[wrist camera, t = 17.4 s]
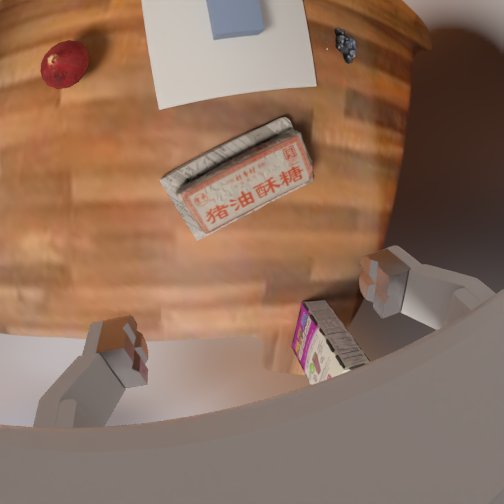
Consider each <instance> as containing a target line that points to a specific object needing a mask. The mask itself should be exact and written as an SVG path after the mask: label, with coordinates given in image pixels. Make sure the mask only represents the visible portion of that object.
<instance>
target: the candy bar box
mask: <svg viewBox="0 0 504 504" xmlns="http://www.w3.org/2000/svg"><path fill="white" fill-rule="evenodd" d="M292 348H293V350H294V352H295V354H296V356H297V359H298V360H299V362H300V364H301V366H302V368H303V370H304V373H305V375H306V376H307V378H308V380H309V382H310V384H311V385H313V384H316V383H318V382H321V381H324V380H327V379H330V378H332V377H335V376H338V375H340V374H343V373H346V372H348V371H351V370H353V369H356V368H358V367H360V366H363V365H365V364H368V363H370V361H369V359H368V358H367V356H366V355H365V354H364V352H363V351H362V349H361V348H360V347H359V346H358V344H357V343H356V341H355V340H354V338H353V337H352V336H351V334H350V333H349V332H348V330H347V329H346V328H345V326H344V324H343V323H342V322H341V321H340V319H339V318H338V316H337V315H336V314H335V312H334V311H333V309H332V308H331V307H330V305H329V304H328V303H327V301H326V300H317V301H306V302H302V304H301V308H300V313H299V318H298V322H297V327H296V331H295V335H294V339H293V343H292Z"/></svg>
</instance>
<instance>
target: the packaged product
mask: <svg viewBox="0 0 504 504" xmlns="http://www.w3.org/2000/svg"><path fill="white" fill-rule="evenodd" d="M312 162H313V161H312V159H311V157H310V155H309V153H308V151H307V149H306V146H305V144H304V142H303V139H302V134H301V133H300V132H298V131H295V130H294V128H293V126H292V124H291V121H290V120H289V119H288V118H286V117H283V118H279V119H277V120H275V121H273V122H271V123H269V124H267V125H265V126H263V127H260V128H257V129H255V130H252V131H250V132H248V133H245V134H243V135H241V136H239V137H237V138H234V139H232V140H230V141H228V142H226V143H224V144H222V145H219V146H217V147H215V148H213V149H211V150H209V151H207V152H206V153H204V154H202V155H200V156H198V157H196V158H194V159H192V160H191V161H189V162H187V163H185V164H183V165H182V166H180V167H178V168H176V169H175V170H173V171H171V172H170V173H169V174H167V175H166V176H165V177H163V178H162V179H161V180H160V182H161V184H162V185H163V187H164V189H165V190H166V192H167V193H168V195H169V197H170V198H171V200H172V202H173V203H174V205H175V207H176V208H177V210H178V212H179V213H180V215H181V216H182V218H183V219H184V221H185V223H186V224H187V226H188V227H189V229H190V230H191V232H192V233H193V235H194V236H195V238H196V240H197V241H199V240H200V239H202V238H204V237H206V236H208V235H210V234H212V233H214V232H216V231H217V230H219V229H220V228H222V227H224V226H226V225H228V224H230V223H232V222H234V221H236V220H238V219H240V218H242V217H244V216H246V215H248V214H249V213H251V212H253V211H256V210H257V209H259V208H261V207H263V206H264V205H265V204H267V203H271V202H273V201H274V200H276V199H278V198H280V197H282V196H284V195H286V194H288V193H290V192H292V191H294V190H296V189H298V188H300V187H302V186H304V185H306V184H308V183H310V182H312V181H314V180H313V171H312V170H313V167H312Z"/></svg>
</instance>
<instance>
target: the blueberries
mask: <svg viewBox="0 0 504 504" xmlns="http://www.w3.org/2000/svg"><path fill="white" fill-rule="evenodd" d="M335 34H336V48H337V49H338V50H339V51H340V52H341V53H343V56H344V60H345V62H346V63H348V64H349V63H352V62H353V59H354V57H355V54H356V51H357V49H358V48H357V47H356V41H355V40H354V39H353V38H352V37H351V36H349V35H346V34H345V31H344V30H342V29H335ZM326 42H327V41H326ZM326 50H328V48H327V49H326Z"/></svg>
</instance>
